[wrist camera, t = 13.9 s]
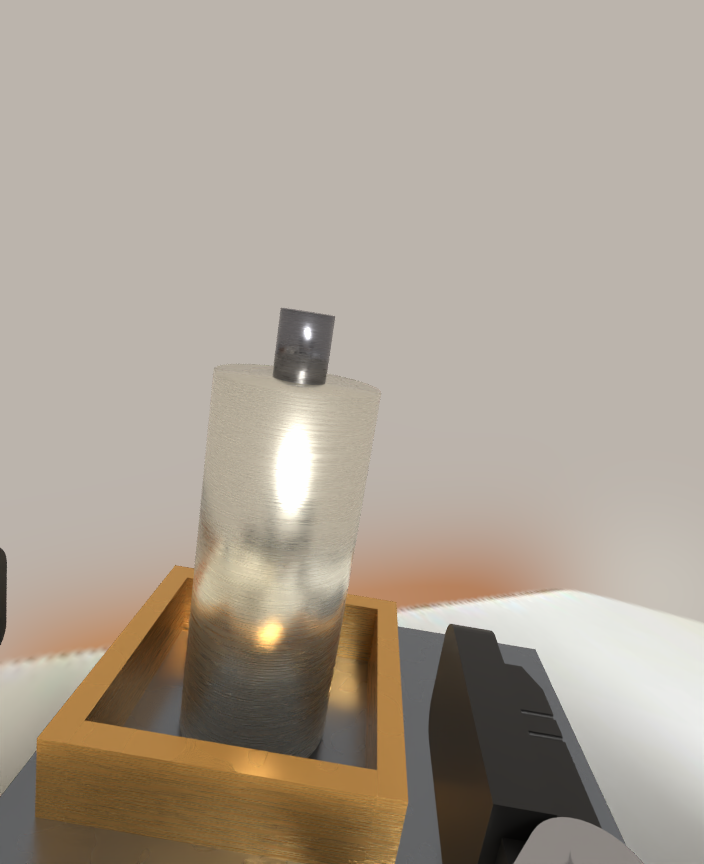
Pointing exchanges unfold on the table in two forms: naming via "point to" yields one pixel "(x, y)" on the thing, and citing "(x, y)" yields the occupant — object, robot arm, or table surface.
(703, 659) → the table surface
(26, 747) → the table surface
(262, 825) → the grey base with tray
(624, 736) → the table surface
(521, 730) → the robot arm
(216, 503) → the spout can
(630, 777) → the table surface
